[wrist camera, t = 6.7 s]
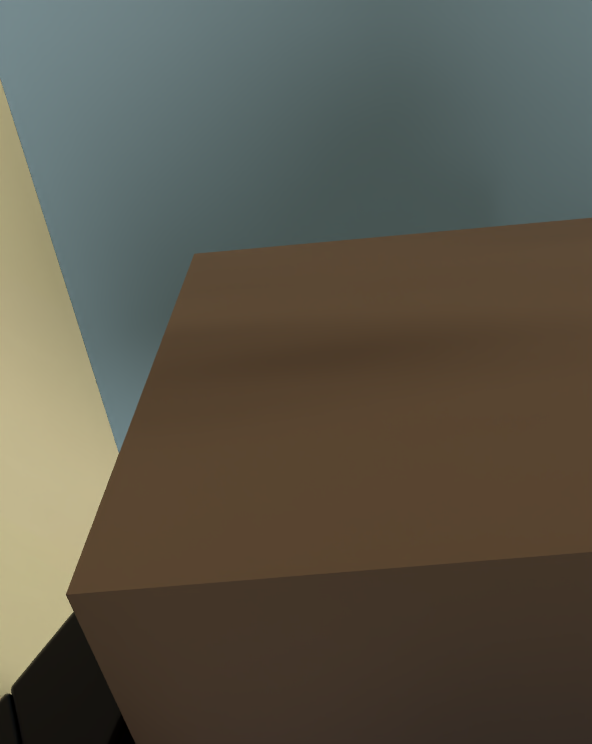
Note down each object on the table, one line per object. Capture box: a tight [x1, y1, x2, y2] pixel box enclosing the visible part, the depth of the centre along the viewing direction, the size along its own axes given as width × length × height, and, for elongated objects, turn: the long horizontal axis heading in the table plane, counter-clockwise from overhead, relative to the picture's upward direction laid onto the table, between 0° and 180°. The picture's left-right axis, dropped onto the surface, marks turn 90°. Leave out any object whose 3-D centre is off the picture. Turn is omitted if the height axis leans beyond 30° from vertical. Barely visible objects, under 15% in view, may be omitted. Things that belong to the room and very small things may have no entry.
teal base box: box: [0, 0, 592, 452], centre depth 15 cm, size 14×14×4 cm
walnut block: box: [66, 218, 592, 744], centre depth 6 cm, size 6×6×5 cm
